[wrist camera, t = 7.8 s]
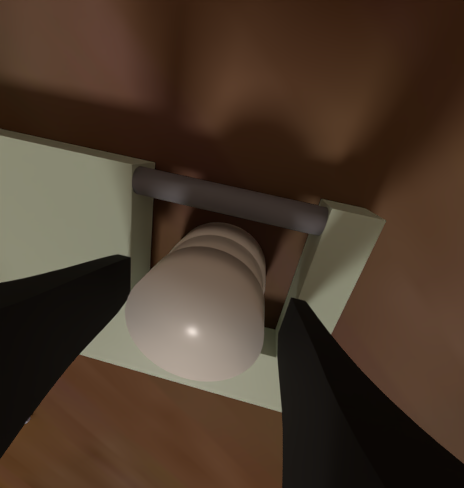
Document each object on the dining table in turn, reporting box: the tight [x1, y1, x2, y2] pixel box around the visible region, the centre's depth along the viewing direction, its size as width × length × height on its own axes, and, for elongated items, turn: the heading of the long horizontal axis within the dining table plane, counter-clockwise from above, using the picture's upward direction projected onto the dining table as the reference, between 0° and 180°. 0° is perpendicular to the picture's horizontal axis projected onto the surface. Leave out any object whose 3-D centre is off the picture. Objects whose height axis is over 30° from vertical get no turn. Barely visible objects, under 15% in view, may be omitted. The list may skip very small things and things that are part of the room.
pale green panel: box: [0, 129, 386, 412], centre depth 12 cm, size 20×12×2 cm, turn 79°
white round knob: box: [125, 222, 266, 382], centre depth 10 cm, size 5×5×5 cm
